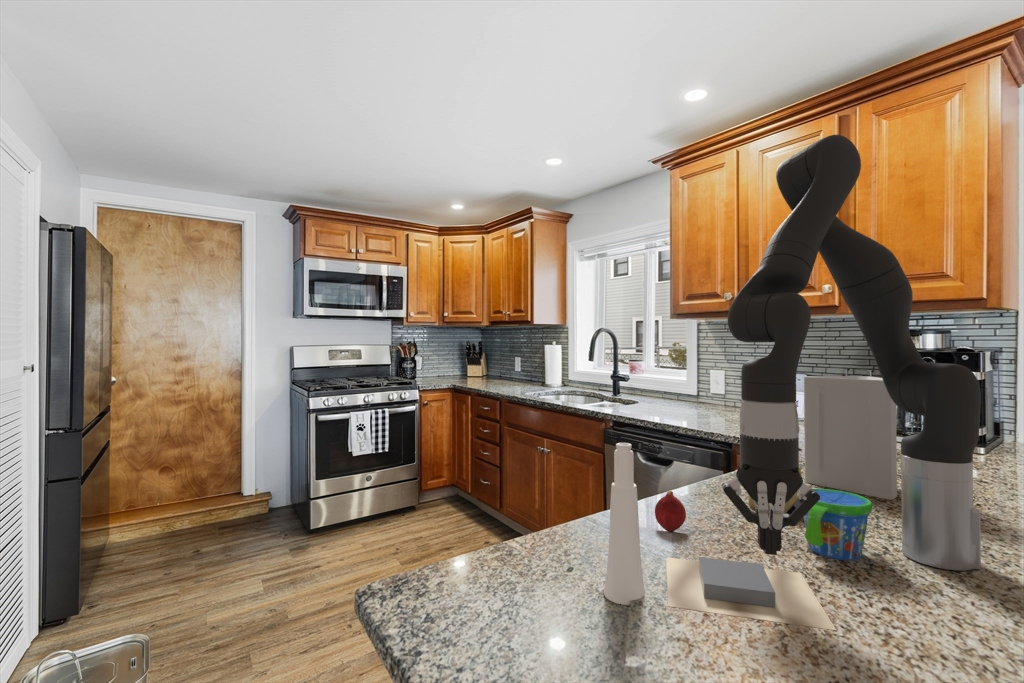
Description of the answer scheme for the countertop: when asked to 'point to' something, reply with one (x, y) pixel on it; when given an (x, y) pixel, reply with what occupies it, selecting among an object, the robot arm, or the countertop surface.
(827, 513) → the snack cup
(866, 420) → the white grooved panel
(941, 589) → the countertop surface
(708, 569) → the block
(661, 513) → the onion
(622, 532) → the cosmetic bottle
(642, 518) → the countertop surface
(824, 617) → the board
